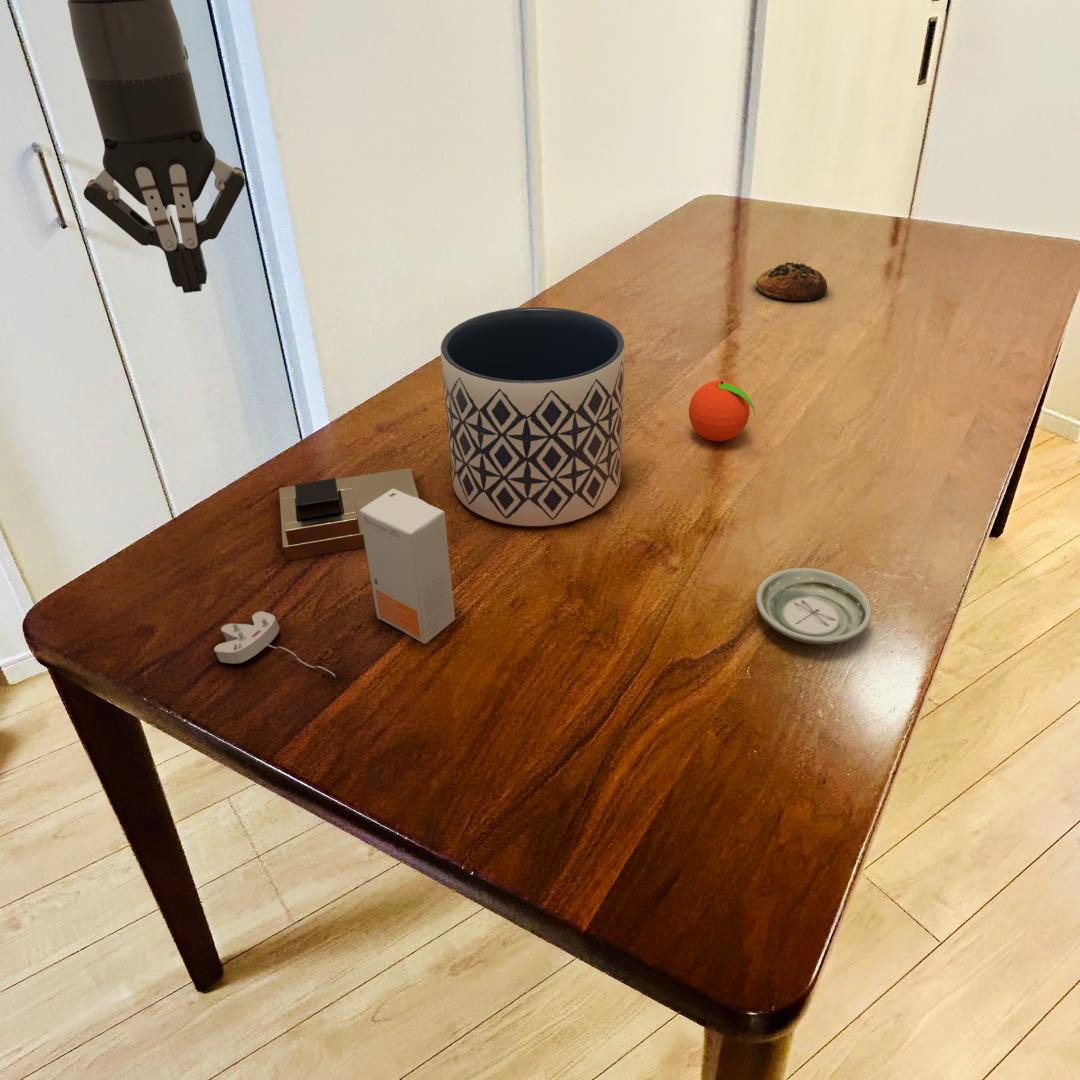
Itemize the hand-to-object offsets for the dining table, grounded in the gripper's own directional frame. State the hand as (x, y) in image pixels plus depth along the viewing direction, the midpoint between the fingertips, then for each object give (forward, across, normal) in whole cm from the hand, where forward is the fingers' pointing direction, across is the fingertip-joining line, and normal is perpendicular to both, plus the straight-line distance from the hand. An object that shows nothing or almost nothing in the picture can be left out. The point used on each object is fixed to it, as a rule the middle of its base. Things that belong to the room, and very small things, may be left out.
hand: (193, 289), depth 78 cm
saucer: (+25, +47, -30) cm, 61 cm away
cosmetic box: (+25, +14, -20) cm, 35 cm away
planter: (+25, +30, -1) cm, 39 cm away
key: (+22, +7, -4) cm, 23 cm away
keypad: (+25, +10, -2) cm, 27 cm away
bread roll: (+25, +83, +42) cm, 96 cm away
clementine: (+25, +53, +2) cm, 59 cm away
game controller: (+25, +2, -22) cm, 33 cm away
